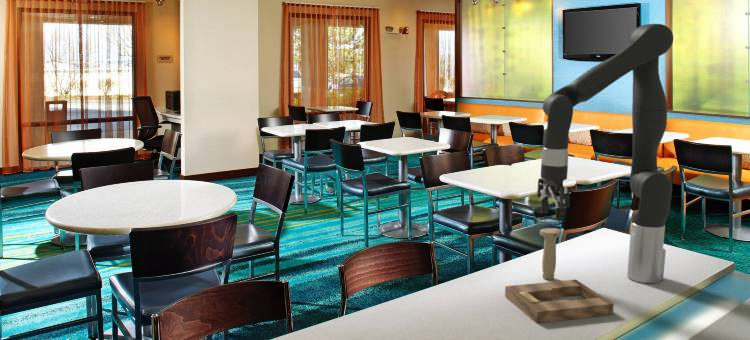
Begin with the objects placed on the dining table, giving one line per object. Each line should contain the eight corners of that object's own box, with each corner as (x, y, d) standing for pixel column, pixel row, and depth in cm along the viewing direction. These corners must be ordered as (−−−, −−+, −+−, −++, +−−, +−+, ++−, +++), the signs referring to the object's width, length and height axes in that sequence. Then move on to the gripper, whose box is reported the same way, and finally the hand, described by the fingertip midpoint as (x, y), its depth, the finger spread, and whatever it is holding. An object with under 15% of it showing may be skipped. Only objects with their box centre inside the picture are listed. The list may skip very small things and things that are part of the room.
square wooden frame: (575, 289, 177) (575, 278, 177) (612, 314, 160) (613, 302, 159) (505, 296, 172) (505, 285, 171) (536, 323, 155) (536, 310, 154)
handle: (562, 279, 185) (564, 231, 182) (543, 282, 183) (546, 233, 180) (552, 274, 189) (555, 227, 187) (534, 276, 187) (536, 229, 184)
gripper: (579, 166, 174) (576, 222, 176) (553, 158, 187) (550, 210, 190) (555, 167, 172) (552, 223, 175) (531, 159, 185) (528, 211, 188)
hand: (551, 216), depth 182 cm, fingers open, 8 cm apart
